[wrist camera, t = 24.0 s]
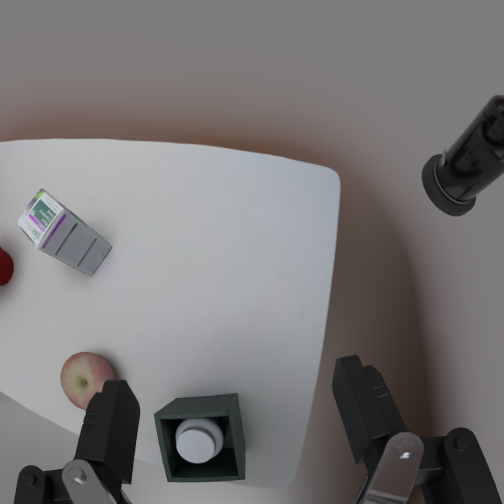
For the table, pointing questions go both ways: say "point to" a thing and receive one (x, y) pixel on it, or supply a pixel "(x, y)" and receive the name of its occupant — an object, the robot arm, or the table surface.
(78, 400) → the apple
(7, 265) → the plastic cup
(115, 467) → the robot arm
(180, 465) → the trash can
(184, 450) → the pill bottle
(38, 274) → the table surface
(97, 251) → the syrup box
